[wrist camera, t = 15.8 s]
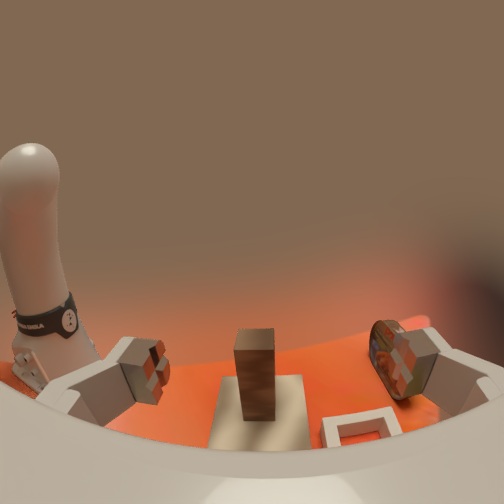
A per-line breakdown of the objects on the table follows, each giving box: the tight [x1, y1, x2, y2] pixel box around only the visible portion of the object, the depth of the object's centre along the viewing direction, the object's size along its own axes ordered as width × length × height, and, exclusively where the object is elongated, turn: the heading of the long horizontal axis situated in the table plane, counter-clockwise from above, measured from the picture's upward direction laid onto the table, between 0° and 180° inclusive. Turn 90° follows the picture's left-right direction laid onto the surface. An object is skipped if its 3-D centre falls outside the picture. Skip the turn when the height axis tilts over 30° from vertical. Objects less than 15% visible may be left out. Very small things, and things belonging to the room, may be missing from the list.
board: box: [207, 374, 311, 451], centre depth 31 cm, size 12×14×1 cm
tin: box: [369, 320, 414, 400], centre depth 34 cm, size 15×3×8 cm, turn 0°
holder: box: [320, 406, 403, 448], centre depth 23 cm, size 9×9×3 cm
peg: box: [234, 328, 276, 421], centre depth 29 cm, size 4×4×12 cm
